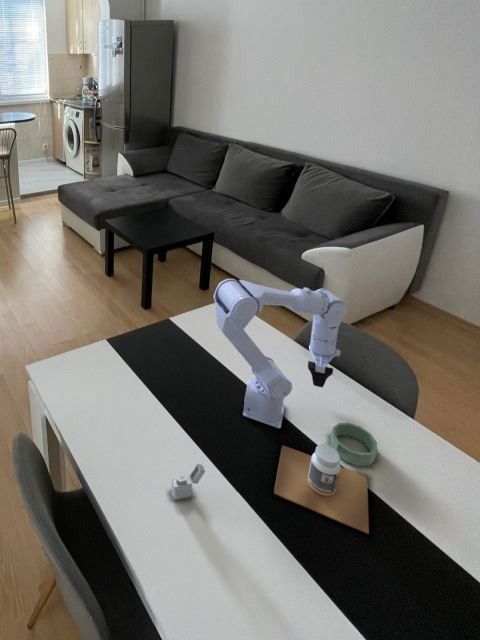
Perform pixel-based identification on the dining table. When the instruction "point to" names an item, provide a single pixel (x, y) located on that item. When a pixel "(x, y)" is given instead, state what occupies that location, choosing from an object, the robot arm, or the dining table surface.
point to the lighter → (186, 483)
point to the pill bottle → (324, 470)
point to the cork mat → (340, 506)
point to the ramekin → (348, 454)
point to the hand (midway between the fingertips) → (319, 375)
